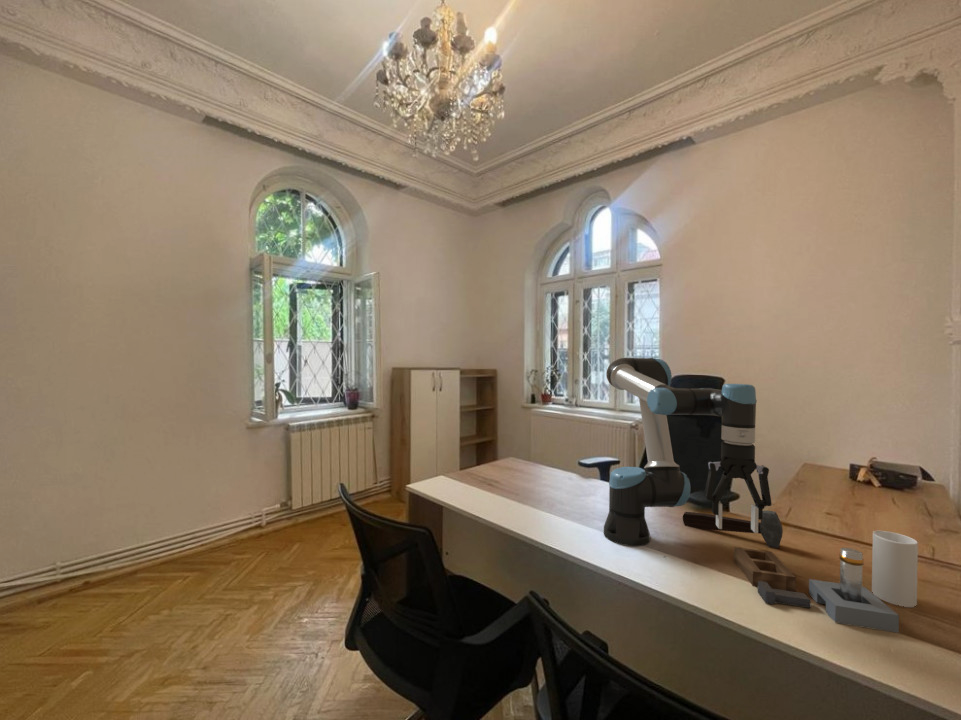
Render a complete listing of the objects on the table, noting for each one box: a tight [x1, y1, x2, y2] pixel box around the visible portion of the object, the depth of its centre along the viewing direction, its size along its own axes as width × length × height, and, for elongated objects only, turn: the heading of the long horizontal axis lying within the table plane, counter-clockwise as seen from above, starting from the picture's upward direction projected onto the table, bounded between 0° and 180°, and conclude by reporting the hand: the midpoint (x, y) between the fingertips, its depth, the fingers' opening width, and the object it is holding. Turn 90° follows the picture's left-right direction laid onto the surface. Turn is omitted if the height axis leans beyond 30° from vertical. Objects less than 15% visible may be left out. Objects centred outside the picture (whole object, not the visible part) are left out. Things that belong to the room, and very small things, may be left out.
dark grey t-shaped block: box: [757, 581, 811, 609], centre depth 102 cm, size 10×5×3 cm, turn 74°
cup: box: [871, 530, 919, 608], centre depth 105 cm, size 8×8×16 cm
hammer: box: [682, 510, 784, 550], centre depth 142 cm, size 5×11×30 cm
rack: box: [733, 546, 797, 592], centre depth 115 cm, size 10×15×4 cm, turn 164°
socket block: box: [808, 578, 900, 634], centre depth 98 cm, size 12×12×4 cm
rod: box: [838, 547, 865, 603], centre depth 98 cm, size 4×4×15 cm
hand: (736, 528), depth 105 cm, fingers open, 8 cm apart
